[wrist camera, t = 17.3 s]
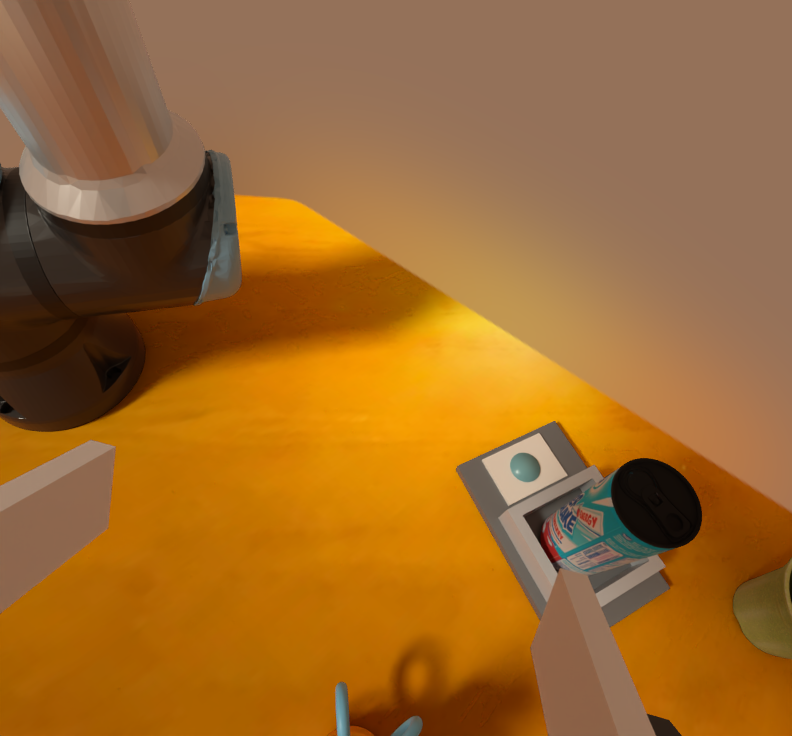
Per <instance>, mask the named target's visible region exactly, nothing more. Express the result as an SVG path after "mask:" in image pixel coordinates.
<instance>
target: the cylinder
mask: <svg viewBox="0 0 792 736" xmlns="http://www.w3.org/2000/svg"><path fill="white" fill-rule="evenodd" d="M336 719H337V729H335V730H334V731H332V732H331V733H329V734H328V735H327V736H375V735H374V734H372V733H371V732H370V731H368V730H367V729H365V728H362V727H359V726H350V722H349V705H348V691H347V685H346V683H344V682H339V683H338V684H337V686H336ZM422 726H423V722H422V719H421V718H420V717H419V716H412V717H411V718H409V719H408V720H406V721H405V722H404V723H403V724H402V725H401V726H399V727H398V728H397V729H396V730H395V731H394V732H393V734H392V735H391V736H418V735H419V734H420V732H421V730H422Z"/></svg>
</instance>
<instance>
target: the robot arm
mask: <svg viewBox="0 0 792 736" xmlns="http://www.w3.org/2000/svg"><path fill="white" fill-rule="evenodd" d="M0 108H1V110H2V111H3V113H4V114H5V115H6V117H7V118H8V120H9V121H10V123H11V124H12V126H13V127H14V129H15V130H16V132H17V133H18V135H19V136H20V138H21V139H22V141H23V142H24V143H25V145H26V147H25V148H24V151H23V153H22V156H21V159H20V164H19V167H15V168H3V167H1V164H0V418H2V419H3V420H5V421H6V422H8V423H10V424H12V425H14V426H16V427H19V428H22V429H26V430H31V431H42V432H44V431H58V430H64V429H69V428H73V427H76V426H79V425H82V424H85V423H87V422H89V421H92V420H94V419H96V418H98V417H99V416H101V415H103V414H104V413H106V412H108V411H109V410H110V409H112V408H113V407H114V406H116V405H117V404H118V403H119V402H120V401H121V400H122V399H123V398H124V397H125V396H126V395H127V394H128V393H129V392H130V390H131V389H132V388H133V386H134V385H135V383H136V382H137V380H138V378H139V376H140V374H141V371H142V369H143V365H144V360H145V345H144V341H143V338H142V336H141V334H140V332H139V330H138V329H137V327H136V326H135V324H134V323H133V321H132V320H131V319H130V317H129V316H128V315H127V314H126V313H128V312H136V311H145V310H153V309H162V308H171V307H179V306H188V305H194V306H196V305H200V304H202V303H203V302H207V301H212V300H217V299H222V298H227V297H230V296H232V295H234V294H235V293H236V292H237V291H238V290H239V288H240V286H241V282H242V272H241V259H240V249H239V239H238V231H237V220H236V208H235V198H234V189H233V180H232V172H231V165H230V160H229V158H228V157H227V156H226V155H225V154H223V153H217V152H214V151H212V150H209V151H205V149H204V146H203V143H202V141H201V139H200V137H199V135H198V133H197V131H196V130H195V129H194V127H193V126H192V125H191V124H190V123H189V122H188V121H186V120H185V119H184V118H182V117H181V116H179V115H178V114H176V113H174V112H172V111H170V110H168V109H167V107H166V104H165V101H164V98H163V96H162V93H161V90H160V87H159V84H158V81H157V78H156V76H155V73H154V70H153V67H152V64H151V61H150V58H149V55H148V52H147V50H146V47H145V44H144V41H143V38H142V35H141V32H140V29H139V26H138V24H137V21H136V18H135V15H134V12H133V9H132V6H131V3H130V1H129V0H0ZM115 448H116V447H115V446H111V445H108V444H104V443H100V442H97V441H93V440H90V441H88V442H86V443H84V444H82V445H80V446H78V447H76V448H74V449H72V450H70V451H68V452H66V453H64V454H62V455H61V456H59V457H57V458H55V459H53V460H51V461H49V462H47V463H45V464H43V465H41V466H39V467H37V468H35V469H33V470H31V471H29V472H27V473H25V474H23V475H21V476H19V477H17V478H15V479H13V480H11V481H9V482H7V483H5V484H3V485H1V486H0V613H1V612H3V611H4V610H5V609H6V608H8V607H9V606H10V605H11V604H13V603H14V602H15V601H17V600H18V599H19V598H20V597H22V596H23V595H24V594H25V593H27V592H28V591H29V590H30V589H32V588H33V587H34V586H36V585H37V584H38V583H39V582H41V581H42V580H43V579H44V578H46V577H47V576H48V575H49V574H51V573H52V572H53V571H55V570H56V569H57V568H58V567H60V566H61V565H62V564H63V563H65V562H66V561H67V560H68V559H70V558H71V557H72V556H73V555H75V554H76V553H77V552H79V551H80V550H81V549H82V548H84V547H85V546H86V545H87V544H89V543H90V542H91V541H92V540H94V539H95V538H96V537H98V536H99V535H100V534H101V533H103V532H104V531H105V530H106V529H108V522H109V512H110V501H111V490H112V480H113V469H114V459H115ZM531 653H532V658H533V663H534V667H535V672H536V677H537V682H538V687H539V692H540V697H541V702H542V707H543V712H544V717H545V721H546V726H547V731H548V736H681V734H680V733H679V732H678V731H677V729H676V728H675V727H674V726H673V724H672V723H671V722H670V721H669V720H667V719H663V718H660V717H656V716H653V715H649V714H646V711H645V709H644V707H643V704H642V702H641V700H640V697H639V695H638V693H637V690H636V688H635V686H634V683H633V681H632V679H631V676H630V674H629V672H628V669H627V667H626V665H625V662H624V660H623V658H622V655H621V653H620V651H619V648H618V646H617V644H616V641H615V639H614V637H613V634H612V632H611V630H610V627H609V625H608V623H607V620H606V618H605V616H604V613H603V611H602V609H601V606H600V604H599V602H598V599H597V597H596V595H595V592H594V590H593V588H592V585H591V583H590V581H589V578H588V576H587V575H583V574H580V573H576V572H572V571H569V570H565V569H561V568H560V569H559V572H558V575H557V578H556V580H555V583H554V586H553V588H552V591H551V594H550V597H549V599H548V602H547V605H546V607H545V610H544V613H543V616H542V618H541V621H540V624H539V626H538V629H537V632H536V635H535V637H534V640H533V643H532V645H531Z"/></svg>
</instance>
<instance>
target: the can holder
mask: <svg viewBox="0 0 792 736" xmlns="http://www.w3.org/2000/svg"><path fill="white" fill-rule="evenodd" d="M456 471H457V473H458V474H459V476H460V478H461V480H462V482H463V483H464V485H465V487H466V489H467V490H468V492H469V494H470V496H471V498H472V499H473V501H474V503H475V505H476V507H477V508H478V510H479V512H480V514H481V516H482V517H483V519H484V521H485V523H486V524H487V526H488V528H489V530H490V532H491V533H492V535H493V537H494V539H495V541H496V542H497V544H498V546H499V548H500V550H501V551H502V553H503V555H504V557H505V559H506V560H507V562H508V564H509V566H510V567H511V569H512V571H513V573H514V575H515V576H516V578H517V580H518V582H519V584H520V585H521V587H522V589H523V591H524V593H525V594H526V596H527V598H528V600H529V601H530V603H531V605H532V607H533V609H534V610H535V612H536V614H537V616H538V618H539V619H540V621H541V618H542V616H543V613H544V610H545V607H546V605H547V602H548V599H549V597H550V594H551V591H552V588H553V586H554V583H555V580H556V578H557V575H558V572H559V571H558V570H556V569H555V568H554V567H553V565H552V564H551V562H550V560H549V559H548V557H547V555H546V554H545V552H544V550H543V549H542V547H541V542H540V533H541V529H542V526H543V524H544V522H545V520H546V519H547V518H548V517H549V516H550V515H551V514H553V513H554V512H556V511H557V510H559V509H560V508H562V507H563V506H564V505H566V504H567V503H569V502H570V501H572V500H573V499H574V498H576V497H577V496H579V495H580V494H582V493H583V492H585V491H586V490H587V489H589V488H590V487H592V486H593V485H595V484H596V483H598V482H599V481H601V480H602V479H604V478H603V476H602V475H601V473H600V472H599V471H598V469H597V468H596V466H595V465H593V466H591V467H589V468H587V467H586V466H585V464H584V463H583V461H582V460H581V458H580V457H579V455H578V454H577V453H576V451H575V450H574V448H573V447H572V445H571V444H570V442H569V441H568V440H567V438H566V437H565V435H564V434H563V432H562V431H561V429H560V428H559V427H558V425H557V424H556V422H555V421H553V422H551V423H549V424H547V425H545V426H543V427H540V428H538V429H536V430H534V431H532V432H530V433H528V434H525V435H523V436H521V437H519V438H517V439H515V440H513V441H510V442H508V443H506V444H504V445H502V446H500V447H498V448H495V449H493V450H491V451H489V452H487V453H485V454H483V455H480V456H478V457H476V458H474V459H472V460H470V461H468V462H465V463H463V464H461V465H459V466H457V468H456ZM664 567H666V566H665V565H664V563H663V562H662V560H661V559H660V558H659V556H658V555H654V556H651V557H647V558H644V559H641V560H638V561H635V562H632V563H629V564H626V565H622V566H619V567H616V568H613V569H610V570H606V571H603V572H600V573H597V574H594V575H590V576H588V578H589V581H590V583H591V585H592V588H593V590H594V592H595V595H596V597H597V599H598V602H599V604H600V606H601V609H602V611H603V613H604V616H605V618H606V620H607V623H608V625H609V627H611V626H613V625H614V624H616V623H617V622H619V621H620V620H622V619H623V618H625V617H626V616H628V615H630V614H631V613H633V612H634V611H636V610H637V609H639V608H640V607H642V606H643V605H645V604H647V603H648V602H650V601H651V600H653V599H654V598H656V597H657V596H659V595H660V594H662V593H664V592H665V591H667V590H668V589H670V587H669V585H668V584H667V583H666V581H665V580H664V578H663V577H662V575H661V574H660V572H659V571H660V570H661V569H663V568H664Z"/></svg>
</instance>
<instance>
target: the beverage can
mask: <svg viewBox="0 0 792 736" xmlns="http://www.w3.org/2000/svg"><path fill="white" fill-rule="evenodd" d="M701 522H702V511H701V505H700V502H699V499H698V497H697V494H696V492H695V491H694V489H693V487H692V486H691V484H690V483H689V482H688V481H687V479H686V478H685V477H684V476H683V475H682V474H680V473H679V472H678V471H677V470H676V469H674V468H673V467H671V466H669V465H668V464H666V463H663V462H661V461H658V460H654V459H649V458H640V459H634V460H632V461H629V462H627V463H626V464H624V465H623V466H621V467H620V468H619V469H617V470H616V471H614V472H612V473H611V474H609V475H608V476H606V477H605V478H604V479H602V480H601V481H599V482H598V483H596V484H595V485H593V486H592V487H590V488H589V489H587V490H586V491H585V492H583V493H582V494H580V495H579V496H577V497H576V498H574V499H573V500H572V501H570V502H569V503H567V504H566V505H564V506H563V507H562V508H560V509H559V510H557V511H556V512H554V513H553V514H551V515H550V516H549V517H548V518H547V519H546V520H545V522H544V524H543V526H542V529H541V533H540V542H541V547H542V549H543V550H544V552H545V554H546V555H547V557H548V559H549V560H550V562H551V564H552V565H553V567H554V568H555V569H556V570H558V571H559V569H560V568H561V569H565V570H569V571H572V572H576V573H580V574H583V575H587V576H590V575H594V574H597V573H600V572H603V571H606V570H610V569H613V568H616V567H619V566H622V565H626V564H629V563H632V562H635V561H638V560H641V559H644V558H647V557H651V556H654V555H657V554H660V553H663V552H666V551H669V550H671V549H674V548H677V547H681V546H683V545H686V544H688V543H689V542H690V541H692V540H693V539H694V538H695V537H696V535H697V534H698V532H699V530H700V527H701Z"/></svg>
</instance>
